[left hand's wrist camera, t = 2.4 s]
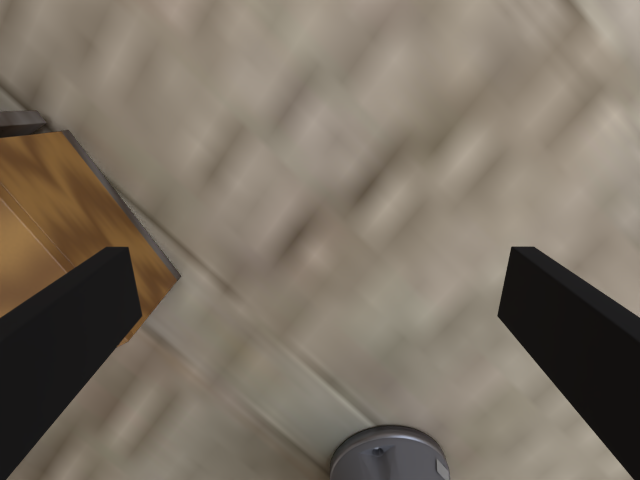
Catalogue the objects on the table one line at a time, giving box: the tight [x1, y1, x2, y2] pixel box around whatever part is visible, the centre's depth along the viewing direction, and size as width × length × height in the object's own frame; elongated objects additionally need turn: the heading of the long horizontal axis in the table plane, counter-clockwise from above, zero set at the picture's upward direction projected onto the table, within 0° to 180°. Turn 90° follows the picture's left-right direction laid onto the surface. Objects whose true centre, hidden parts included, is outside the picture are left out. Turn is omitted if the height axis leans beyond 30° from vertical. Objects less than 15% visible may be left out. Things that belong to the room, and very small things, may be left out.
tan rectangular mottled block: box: [0, 130, 181, 348], centre depth 31 cm, size 17×11×11 cm, turn 29°
